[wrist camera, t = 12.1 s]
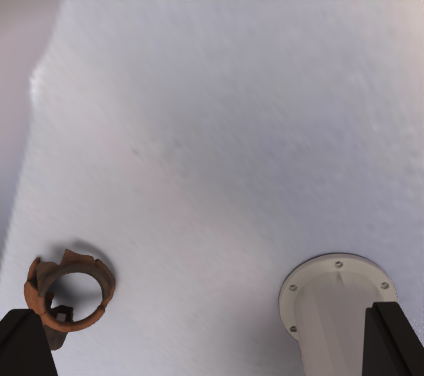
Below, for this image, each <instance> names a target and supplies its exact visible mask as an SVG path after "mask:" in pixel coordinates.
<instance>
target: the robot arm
mask: <svg viewBox="0 0 424 376" xmlns="http://www.w3.org/2000/svg"><path fill="white" fill-rule="evenodd" d="M337 261H338V262H337ZM279 311H280V316H281V320H282V323H283V324H284V326H285V328H286V330H287V331H288V332H289V333H290V335H291V336H292V337H293V338H294V339H296V340H297V341H298V342H299V344H300V350H301V356H302V362H303V367H304V373H305V376H424V347H423V346H422V344H421V342H420V340H419V339H418V337H417V335H416V334H415V332H414V330H413V328H412V327H411V325H410V323H409V321H408V320H407V318H406V316H405V315H404V313H403V311H402V309H401V308H400V306H399V304H398V297H397V294H396V290H395V287H394V286H393V284H392V282H391V280H390V279H389V277H388V276H387V274H386V273H385V272H384V271H383V270H382V269H381V268H380V267H379V266H378V265H376V264H375V263H373V262H371V261H369V260H368V259H365V258H362V257H359V256H356V255H350V254H329V255H323V256H320V257H317V258H314V259H311V260H309V261H307V262H305V263H303V264H302V265H300V266H299V267H298V268H297V269H295V270H294V271H293V272H292V273H291V274H290V276H289V277H288V278H287V279H286V281H285V283H284V284H283V286H282V289H281V292H280V295H279ZM0 376H58V374H57V370H56V367H55V364H54V360H53V357H52V354H51V350H50V347H49V343H48V340H47V337H46V333H45V330H44V327H43V323H42V320H41V317H40V315H39V314H36V313H35V311H34V310H33V309H12V310H10V311H9V312H8V313H7V314H6V315H5V316H4V318H3V319H2V320H1V321H0Z"/></svg>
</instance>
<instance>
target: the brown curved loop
mask: <svg viewBox="0 0 424 376" xmlns="http://www.w3.org/2000/svg"><path fill="white" fill-rule="evenodd" d="M39 261H40V258H38V257H37V258H36V259H35V260H34V261H33V263H32V264H31V266H30V269H29V272H28V277H27V281H26V283H25V284H24V296H25V300H26V303H27V305H28V308H29V309H33V310H34V311H35V313H36V314H39V315H40V317H41V320H42V323H43V326H44V330H45V333H46V337H47V340H48V343H49V347H50V350H57V349H59V348H61V347H62V345H63V343H64V341H65V338H66V335H67V334H68V332H74V331H79V330H82V329H85V328H87V327H89V326H91V325H92V324H94V323H95V322H96V321H98V320H99V319H100V318H101V316H102V315H103V314H104V312H105V308H106V306H107V304H108V303H109V301H110V300H111V299H112V297H113V294H114V289H115V279H114V277H113V275H112V273H111V271H110V270H109V269H108V267H107V266H106V265H105V264H104V263H103V262H102V261H101V260H99V259H96V260H94V258H93V257H92V256H88V255H80V254H77V253H74V252H72V251H71V250H68V249H66V250H65V254H64V256H63V259H62V262H61V264H60V265H57V264H56V263H53V262H40V263H39ZM38 263H39V264H38ZM76 272H80V273H86V274H88V275H90V276H92V277H93V278H95V279H96V280H97V281H98V283H99V284H100V286H101V289H102V298H103V299H102V302H101V304H100V305H99V306H98V307H97V309H96V310H95V311H94V312H93V313H92V314H91V315H90V316H88V317H86V318H85V319H83V320H80V321H76V322H73V310H74V309H73V307H68V306H65V305H60V306H57V307H55V308H51V304H52V300H53V298H54V294H52V293H50V292H48V291H47V290H48V288H49V287H50V285H51V284H52V283H53V282H54V281H55V280H56V279H58V278H59V277H61V276H63V275H65V274H68V273H76ZM36 274H37V275H36Z"/></svg>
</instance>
